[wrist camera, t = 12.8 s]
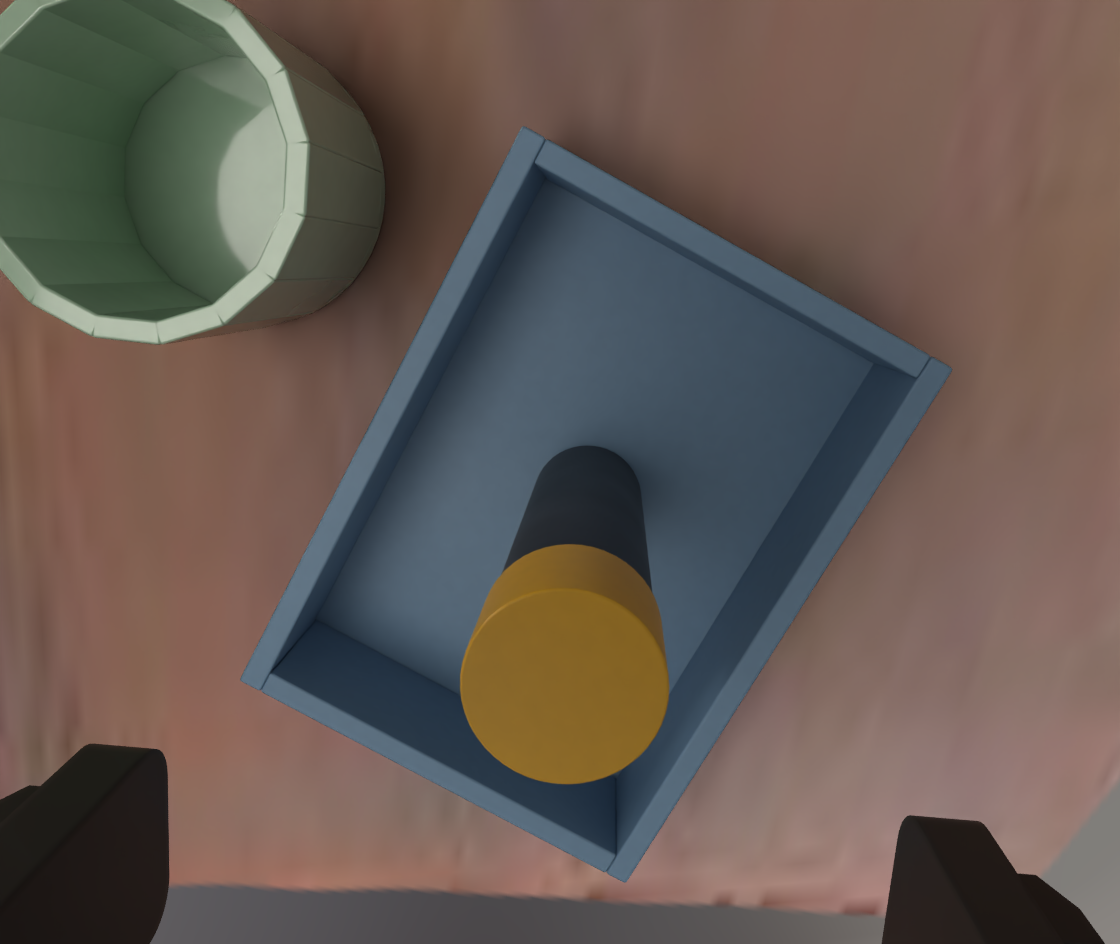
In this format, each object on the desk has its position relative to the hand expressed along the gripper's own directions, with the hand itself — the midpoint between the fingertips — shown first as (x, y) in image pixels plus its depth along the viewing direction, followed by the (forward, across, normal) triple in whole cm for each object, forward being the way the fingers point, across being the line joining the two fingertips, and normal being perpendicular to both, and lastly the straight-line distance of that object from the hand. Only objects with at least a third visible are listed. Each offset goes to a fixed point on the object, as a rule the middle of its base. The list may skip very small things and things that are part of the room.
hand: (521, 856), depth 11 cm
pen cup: (+18, +9, -8) cm, 22 cm away
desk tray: (+18, 0, 0) cm, 18 cm away
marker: (+18, 0, 0) cm, 18 cm away
